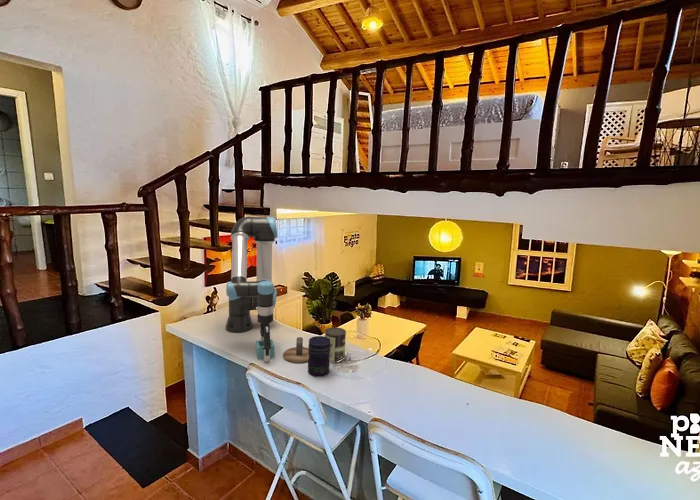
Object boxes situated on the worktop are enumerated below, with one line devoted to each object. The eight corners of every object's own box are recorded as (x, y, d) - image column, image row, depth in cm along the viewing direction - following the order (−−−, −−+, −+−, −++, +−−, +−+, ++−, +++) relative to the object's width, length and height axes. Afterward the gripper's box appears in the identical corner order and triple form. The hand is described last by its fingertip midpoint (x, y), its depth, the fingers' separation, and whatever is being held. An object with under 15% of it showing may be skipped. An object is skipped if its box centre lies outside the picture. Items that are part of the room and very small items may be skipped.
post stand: (280, 350, 180) (280, 333, 178) (311, 346, 186) (311, 330, 184) (286, 365, 165) (286, 347, 164) (319, 361, 171) (319, 343, 169)
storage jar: (333, 371, 161) (335, 341, 159) (317, 379, 154) (318, 347, 152) (319, 363, 168) (320, 334, 166) (303, 370, 161) (303, 340, 158)
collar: (255, 352, 177) (255, 340, 176) (272, 350, 180) (272, 339, 179) (257, 359, 169) (257, 347, 168) (274, 357, 172) (274, 345, 171)
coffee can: (345, 354, 180) (346, 327, 177) (344, 363, 169) (345, 336, 167) (324, 352, 180) (325, 326, 177) (322, 362, 170) (323, 334, 167)
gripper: (254, 306, 181) (254, 345, 184) (260, 323, 158) (260, 367, 161) (269, 305, 184) (269, 343, 187) (277, 322, 161) (276, 365, 164)
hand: (265, 354), depth 174 cm, fingers open, 13 cm apart
